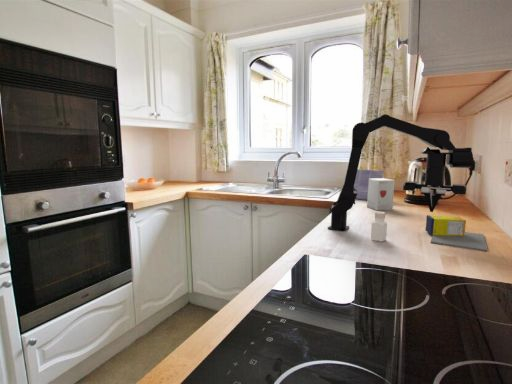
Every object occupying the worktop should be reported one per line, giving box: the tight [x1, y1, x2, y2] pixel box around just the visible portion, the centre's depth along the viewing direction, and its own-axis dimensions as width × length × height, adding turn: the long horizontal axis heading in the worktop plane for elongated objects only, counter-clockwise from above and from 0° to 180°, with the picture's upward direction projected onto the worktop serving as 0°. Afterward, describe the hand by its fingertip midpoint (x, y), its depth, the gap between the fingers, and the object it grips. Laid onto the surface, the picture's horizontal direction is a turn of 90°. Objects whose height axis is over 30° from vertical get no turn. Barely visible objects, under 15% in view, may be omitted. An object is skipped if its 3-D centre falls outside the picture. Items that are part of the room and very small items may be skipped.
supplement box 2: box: [366, 177, 395, 211], centre depth 157 cm, size 9×9×15 cm
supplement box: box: [424, 214, 467, 237], centre depth 111 cm, size 6×6×11 cm
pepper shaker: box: [370, 211, 388, 243], centre depth 105 cm, size 4×4×10 cm
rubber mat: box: [430, 231, 488, 252], centre depth 107 cm, size 20×15×1 cm
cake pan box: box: [354, 168, 384, 201], centre depth 183 cm, size 19×5×18 cm, turn 58°
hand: (431, 211), depth 110 cm, fingers closed
